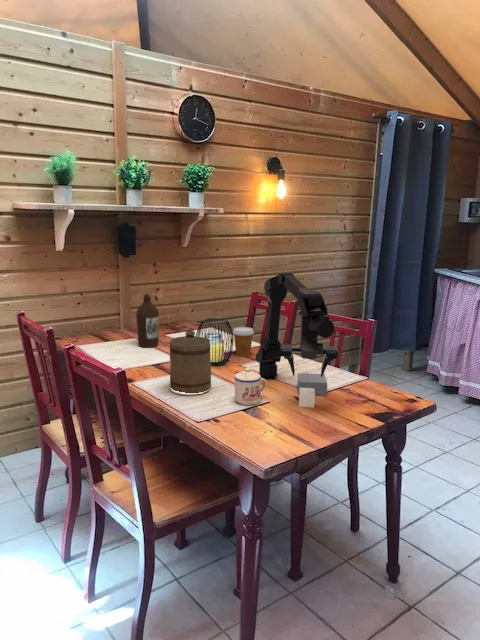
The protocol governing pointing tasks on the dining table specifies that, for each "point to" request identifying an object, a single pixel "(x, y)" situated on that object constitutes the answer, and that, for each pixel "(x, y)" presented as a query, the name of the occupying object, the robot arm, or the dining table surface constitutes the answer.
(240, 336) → the disposable coffee cup
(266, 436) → the dining table surface
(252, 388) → the teacup with lid
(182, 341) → the wooden container
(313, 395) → the cream cube
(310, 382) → the gray square block
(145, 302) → the olive oil
